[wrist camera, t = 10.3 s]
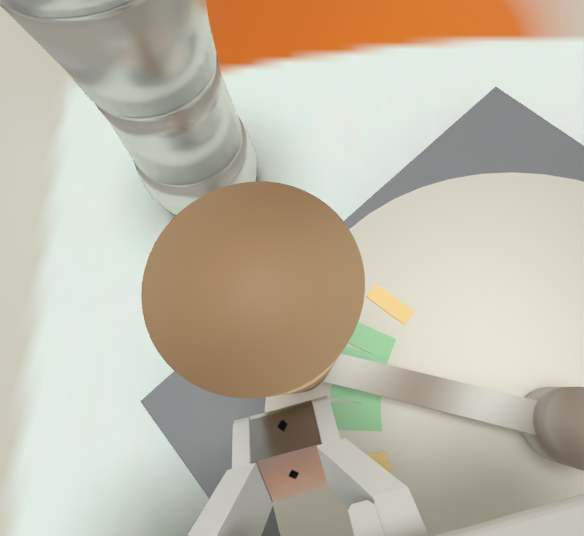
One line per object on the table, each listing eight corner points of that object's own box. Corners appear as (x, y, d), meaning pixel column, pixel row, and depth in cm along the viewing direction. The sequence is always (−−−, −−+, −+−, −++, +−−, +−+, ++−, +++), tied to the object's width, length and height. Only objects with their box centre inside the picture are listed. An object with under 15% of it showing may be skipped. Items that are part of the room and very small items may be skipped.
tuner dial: (487, 100, 25) (498, 82, 23) (987, 445, 17) (1048, 450, 15) (150, 400, 20) (137, 401, 18) (630, 1066, 12) (671, 1156, 11)
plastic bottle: (170, 144, 25) (-279, -610, 6) (268, 146, 25) (104, -679, 6) (151, 230, 23) (-596, -492, 4) (258, 235, 23) (-51, -579, 4)
